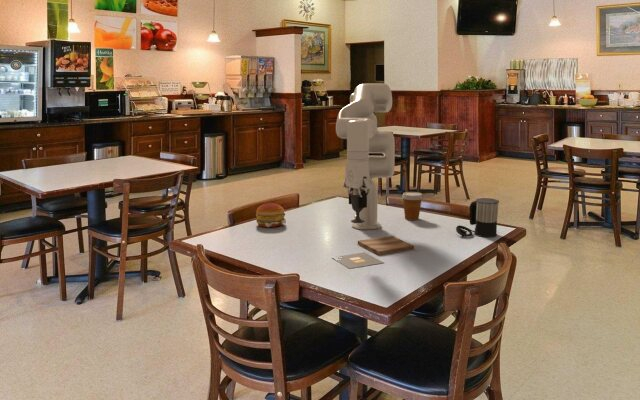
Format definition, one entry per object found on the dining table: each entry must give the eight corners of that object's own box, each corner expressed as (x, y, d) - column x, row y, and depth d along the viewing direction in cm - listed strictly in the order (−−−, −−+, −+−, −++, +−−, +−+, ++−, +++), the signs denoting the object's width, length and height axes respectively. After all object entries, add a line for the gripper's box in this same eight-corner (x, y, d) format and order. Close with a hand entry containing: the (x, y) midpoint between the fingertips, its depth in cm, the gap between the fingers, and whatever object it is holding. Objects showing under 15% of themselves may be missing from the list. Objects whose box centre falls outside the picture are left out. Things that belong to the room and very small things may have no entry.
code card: (331, 257, 212) (331, 257, 212) (364, 252, 217) (364, 252, 217) (349, 268, 199) (349, 268, 199) (383, 263, 205) (384, 262, 205)
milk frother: (501, 234, 241) (503, 200, 238) (482, 242, 230) (484, 206, 227) (471, 228, 251) (472, 195, 248) (451, 235, 240) (452, 201, 237)
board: (357, 244, 228) (357, 240, 228) (392, 239, 235) (392, 235, 235) (378, 255, 214) (378, 251, 214) (414, 249, 221) (414, 245, 221)
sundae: (347, 219, 209) (347, 178, 205) (365, 219, 209) (365, 178, 206) (349, 224, 202) (349, 182, 199) (368, 223, 203) (368, 181, 200)
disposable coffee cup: (401, 220, 265) (401, 195, 263) (401, 216, 275) (402, 191, 272) (422, 221, 264) (422, 195, 261) (422, 216, 273) (422, 191, 271)
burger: (260, 221, 268) (259, 200, 266) (288, 222, 266) (288, 200, 264) (252, 228, 255) (252, 206, 253) (282, 229, 253) (282, 207, 251)
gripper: (337, 153, 207) (337, 202, 211) (360, 159, 191) (360, 212, 195) (355, 152, 210) (355, 200, 214) (379, 158, 195) (379, 209, 198)
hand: (357, 205), depth 204 cm, fingers closed on sundae, 6 cm apart
